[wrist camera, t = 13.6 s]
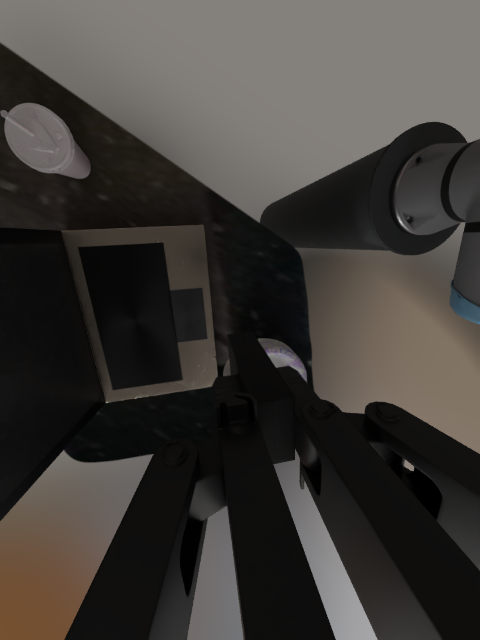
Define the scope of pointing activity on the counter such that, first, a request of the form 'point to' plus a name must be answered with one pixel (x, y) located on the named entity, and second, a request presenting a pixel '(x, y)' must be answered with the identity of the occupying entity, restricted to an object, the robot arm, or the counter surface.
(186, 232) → the laptop
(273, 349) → the paper bowls
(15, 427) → the laptop screen
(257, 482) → the robot arm
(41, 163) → the smoothie
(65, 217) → the counter surface
